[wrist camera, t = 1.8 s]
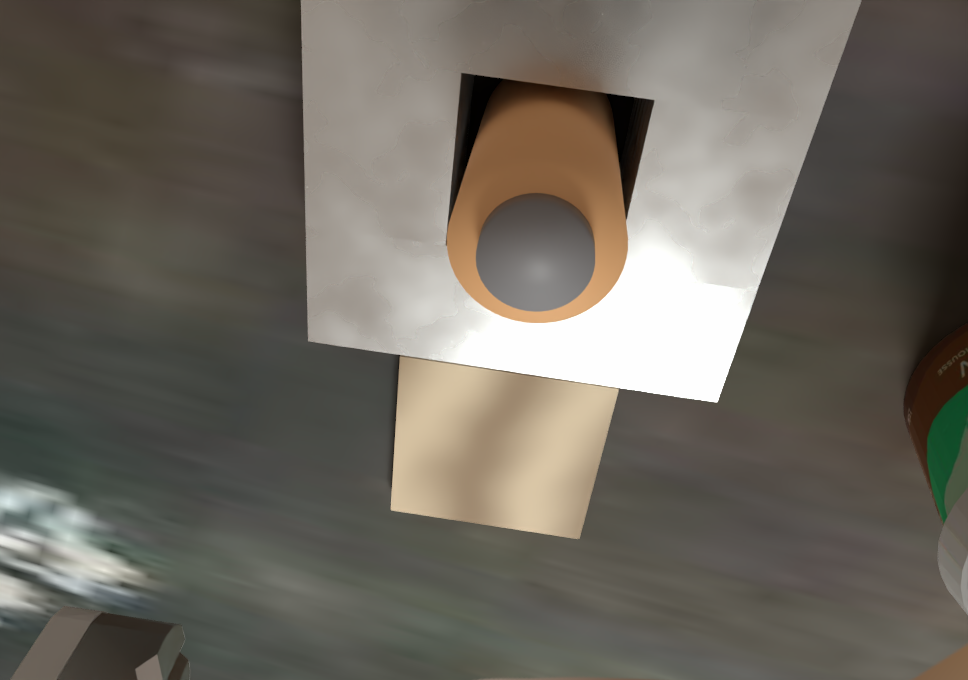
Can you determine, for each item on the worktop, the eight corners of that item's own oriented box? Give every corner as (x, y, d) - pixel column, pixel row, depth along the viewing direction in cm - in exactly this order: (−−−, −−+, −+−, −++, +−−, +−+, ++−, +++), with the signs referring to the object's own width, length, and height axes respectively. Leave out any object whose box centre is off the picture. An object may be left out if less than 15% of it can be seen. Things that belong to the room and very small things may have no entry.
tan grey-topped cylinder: (626, 70, 28) (649, 187, 19) (599, 197, 31) (608, 350, 22) (490, 51, 28) (450, 158, 19) (476, 179, 31) (435, 324, 22)
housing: (832, -79, 25) (882, -59, 21) (700, 331, 34) (717, 402, 30) (343, -145, 25) (297, -139, 21) (340, 278, 34) (308, 341, 30)
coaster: (618, 375, 36) (619, 389, 35) (579, 524, 41) (579, 539, 40) (404, 344, 36) (399, 356, 35) (394, 496, 42) (390, 510, 41)
